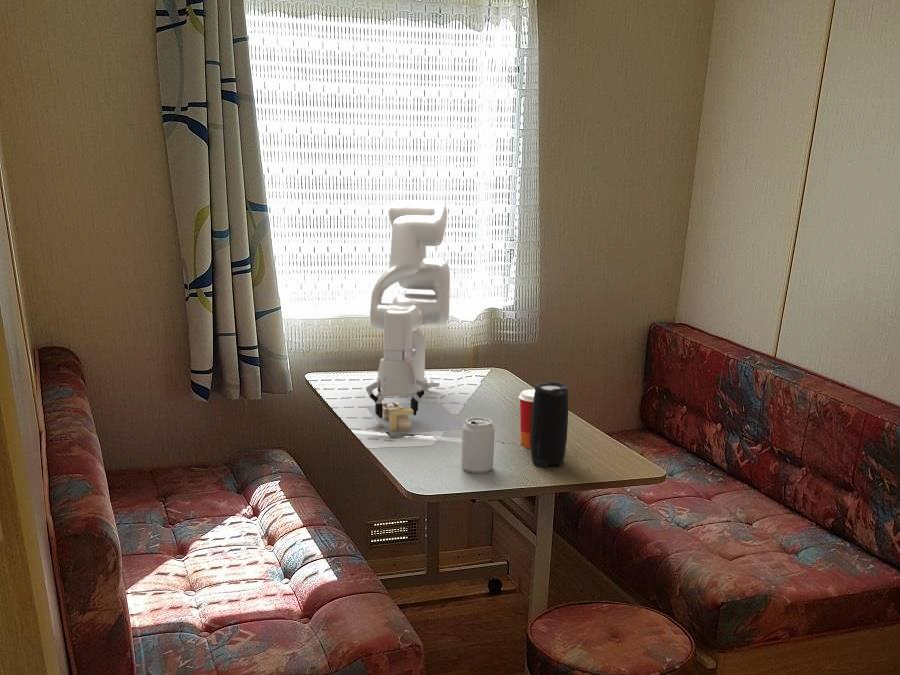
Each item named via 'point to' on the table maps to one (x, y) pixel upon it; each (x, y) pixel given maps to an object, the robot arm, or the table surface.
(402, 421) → the wooden link
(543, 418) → the portable speaker
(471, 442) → the can
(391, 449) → the table surface
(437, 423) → the slate base
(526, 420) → the paper cup
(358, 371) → the table surface
